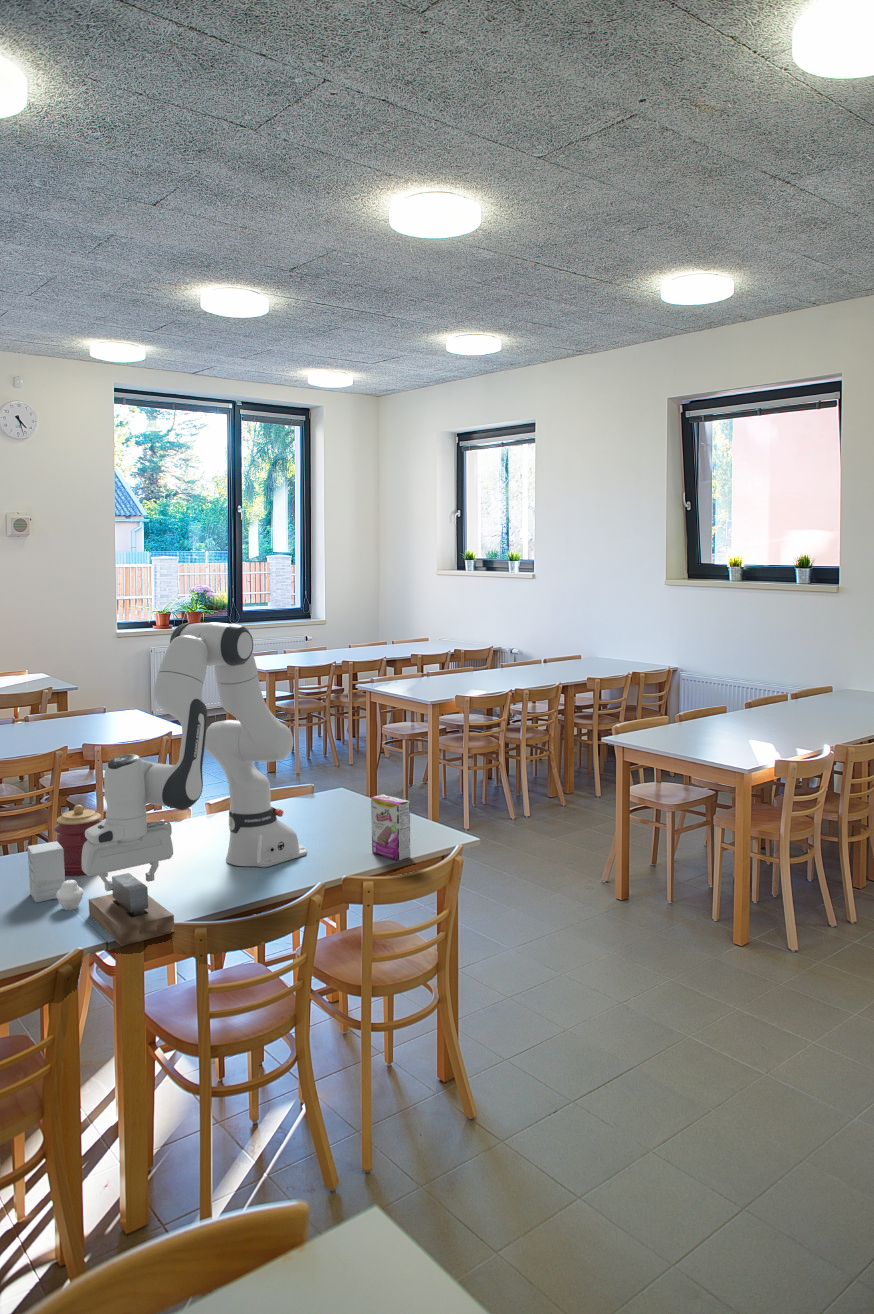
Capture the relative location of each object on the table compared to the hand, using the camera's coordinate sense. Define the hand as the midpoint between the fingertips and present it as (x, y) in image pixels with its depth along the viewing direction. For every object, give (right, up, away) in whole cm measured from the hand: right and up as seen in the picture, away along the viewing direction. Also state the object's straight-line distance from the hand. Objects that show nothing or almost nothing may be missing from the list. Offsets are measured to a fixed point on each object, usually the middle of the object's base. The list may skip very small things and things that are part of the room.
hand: (130, 885), depth 213 cm
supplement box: (-27, -8, +19) cm, 34 cm away
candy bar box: (+58, -4, +48) cm, 75 cm away
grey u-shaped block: (0, -9, +1) cm, 9 cm away
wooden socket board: (0, -9, +1) cm, 9 cm away
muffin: (-18, -8, +11) cm, 23 cm away
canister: (-26, -5, +39) cm, 48 cm away
